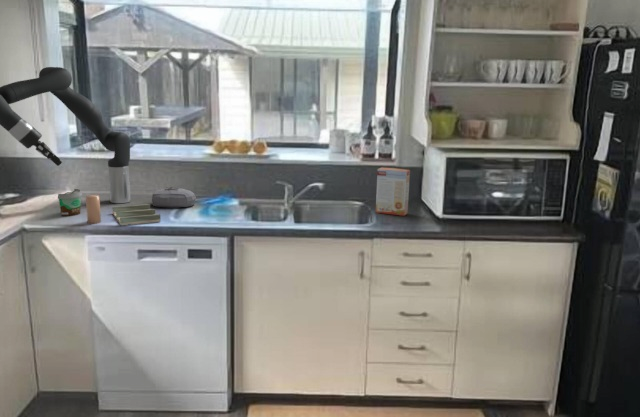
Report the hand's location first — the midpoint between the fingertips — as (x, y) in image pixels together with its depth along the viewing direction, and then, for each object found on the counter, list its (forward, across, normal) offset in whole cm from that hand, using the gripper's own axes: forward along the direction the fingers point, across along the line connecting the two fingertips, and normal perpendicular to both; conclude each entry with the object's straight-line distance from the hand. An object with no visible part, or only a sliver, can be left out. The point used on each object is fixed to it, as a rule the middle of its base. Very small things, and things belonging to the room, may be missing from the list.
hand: (59, 162), depth 224 cm
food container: (+22, +18, +13) cm, 31 cm away
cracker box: (+112, -35, -82) cm, 143 cm away
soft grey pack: (+53, +19, -19) cm, 59 cm away
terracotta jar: (+26, +1, +9) cm, 28 cm away
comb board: (+38, +1, -4) cm, 38 cm away
